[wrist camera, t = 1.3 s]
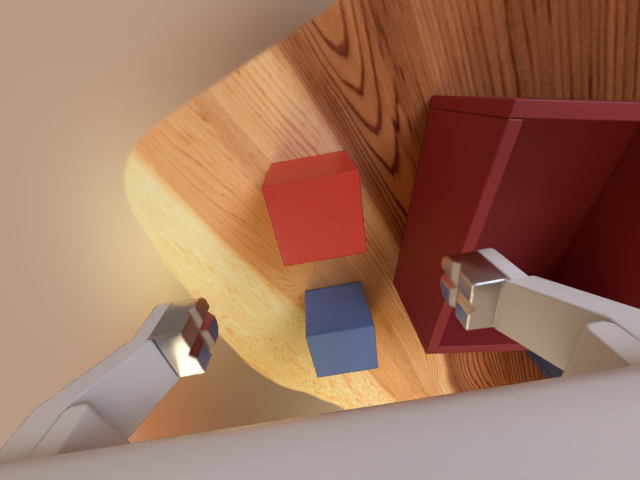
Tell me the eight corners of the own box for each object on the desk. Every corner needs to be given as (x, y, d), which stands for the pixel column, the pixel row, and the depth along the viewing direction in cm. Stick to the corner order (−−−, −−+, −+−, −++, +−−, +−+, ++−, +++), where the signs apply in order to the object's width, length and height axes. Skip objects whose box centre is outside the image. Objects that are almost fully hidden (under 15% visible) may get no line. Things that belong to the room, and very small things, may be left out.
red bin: (432, 95, 14) (515, 98, 9) (651, 101, 15) (857, 108, 10) (392, 283, 21) (426, 354, 15) (548, 280, 22) (633, 347, 16)
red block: (271, 163, 16) (261, 187, 12) (345, 149, 16) (359, 169, 12) (288, 228, 18) (284, 267, 14) (352, 217, 18) (366, 252, 14)
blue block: (305, 290, 21) (305, 337, 17) (361, 281, 21) (374, 326, 17) (315, 329, 23) (317, 377, 19) (365, 321, 23) (378, 368, 19)
